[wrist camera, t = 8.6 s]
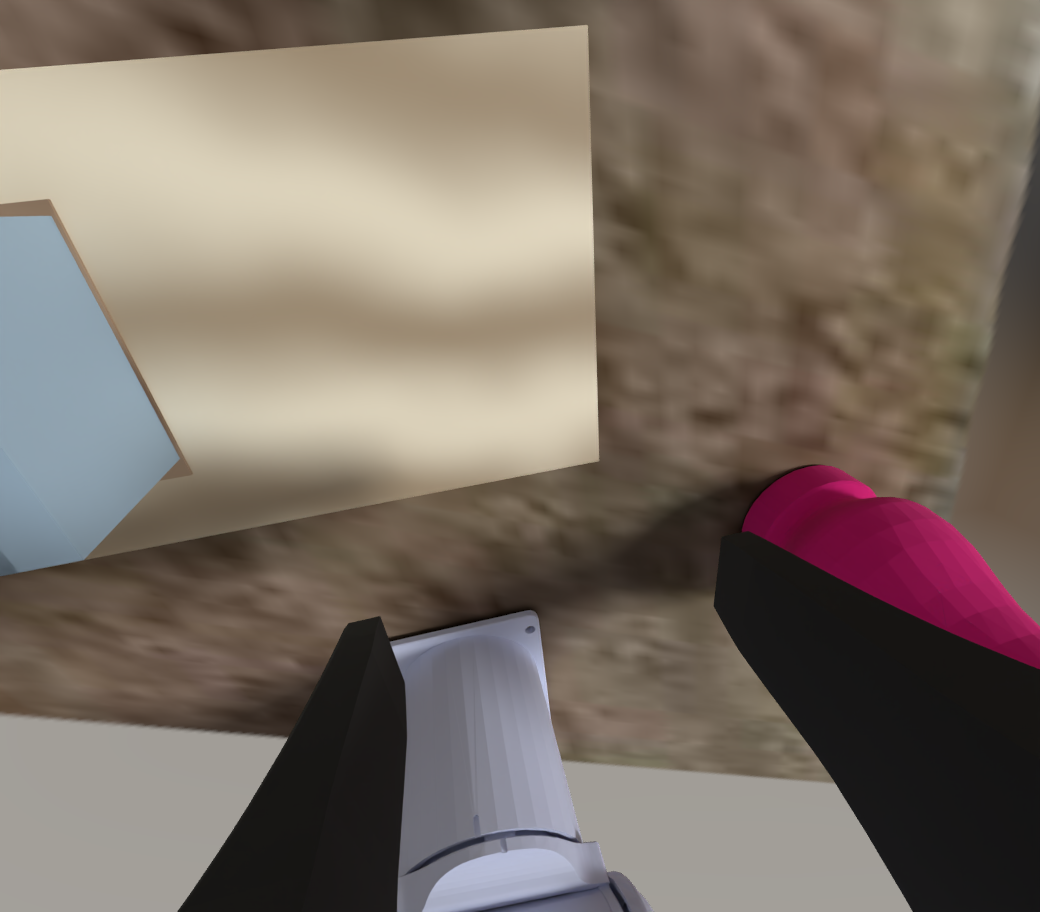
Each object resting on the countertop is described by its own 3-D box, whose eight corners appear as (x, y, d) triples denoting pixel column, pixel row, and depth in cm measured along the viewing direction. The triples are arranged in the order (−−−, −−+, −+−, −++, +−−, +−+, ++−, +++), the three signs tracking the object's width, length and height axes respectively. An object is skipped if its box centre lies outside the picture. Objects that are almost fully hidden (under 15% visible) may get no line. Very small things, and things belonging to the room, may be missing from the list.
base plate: (586, 444, 20) (646, 526, 15) (8, 552, 17) (-166, 699, 12) (571, 42, 13) (665, -59, 8) (-351, 117, 11) (-1045, 35, 6)
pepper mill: (865, 433, 22) (2423, 1214, 5) (855, 542, 26) (1740, 1216, 9) (725, 486, 22) (1830, 1479, 5) (734, 588, 26) (1389, 1370, 8)
